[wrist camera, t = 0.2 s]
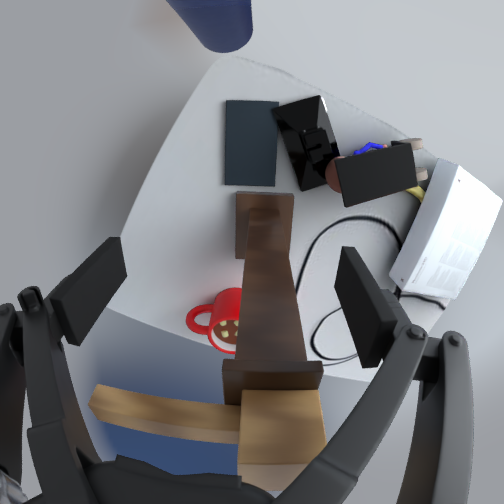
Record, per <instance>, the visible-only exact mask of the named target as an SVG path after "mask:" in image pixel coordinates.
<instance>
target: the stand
mask: <svg viewBox="0 0 504 504" xmlns="http://www.w3.org/2000/svg"><path fill="white" fill-rule="evenodd" d="M293 206H294V195H293V194H290V193H271V192H246V191H237V193H236V248H235V258H236V259H245V263H244V272H243V282H242V292H241V301H240V311H239V321H238V331H237V341H236V351H235V359H224V360H223V365H222V379H223V395H224V405H240V406H241V400H242V390H318V388H319V384H320V382H321V379H322V375H323V373H324V369H323V364H322V361H307V356H306V350H305V344H304V338H303V332H302V326H301V320H300V315H299V309H298V303H297V298H296V293H295V287H294V282H293V277H292V271H291V266H290V261H289V250H290V240H291V229H292V218H293Z"/></svg>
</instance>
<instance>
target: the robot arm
mask: <svg viewBox="0 0 504 504" xmlns="http://www.w3.org/2000/svg"><path fill="white" fill-rule="evenodd" d="M126 277H127V273H126V268H125V262H124V257H123V252H122V246H121V240H120V237H109V238H108V239H107V240H106V241H105V242H104V243H103V244H102V245H101V246H99V247H98V248H97V249H96V251H94V252H93V253H92V254H91V255H90V256H89V257H88V258H87V259H86V260H85V261H84V262H83V263H82V264H81V265H80V266H79V267H78V268H77V269H76V270H75V271H74V272H73V273H72V274H70V275H68V276H67V277H65V278H64V279H63V280H62V281H61V282H60V283H59V285H57V286H56V287H55V289H53V290H52V291H51V292H50V293H49V294H48V296H47V297H46V298H45V299H44V300H43V297H42V295H41V292H40V289H39V288H38V287H37V286H31V287H27V288H25V289H24V290H22V291H21V292H20V293H19V294H18V296H17V298H18V301H19V303H20V305H21V308H22V310H23V311H15V308H14V306H13V304H11V303H6V304H2V305H1V306H0V504H342V503H343V502H344V500H345V499H346V498H347V496H348V495H349V494H350V492H351V491H352V490H353V488H354V487H355V485H356V483H357V481H358V477H359V476H360V474H361V473H362V471H363V470H364V468H365V467H366V465H367V464H368V462H369V460H370V459H371V457H372V456H373V454H374V452H375V451H376V449H377V447H378V446H379V444H380V442H381V441H382V439H383V437H384V435H385V433H386V432H387V430H388V428H389V427H390V425H391V423H392V421H393V419H394V417H395V415H396V413H397V411H398V409H399V407H400V405H401V403H402V401H403V399H404V397H405V395H406V393H407V390H408V388H409V386H410V384H411V381H412V380H418V381H420V385H419V396H418V404H417V412H416V419H415V426H414V432H413V437H412V443H411V448H410V453H409V458H408V462H407V466H406V470H405V475H404V479H403V482H402V486H401V489H400V493H399V496H398V499H397V503H396V504H467V499H468V494H469V487H470V479H471V469H472V457H473V439H474V437H473V436H474V411H473V391H472V378H471V368H470V360H469V352H468V345H467V341H466V339H465V338H464V337H463V336H462V335H461V334H459V333H458V332H455V331H448V332H446V333H444V335H443V337H442V339H438V338H432V337H428V334H427V332H426V331H425V330H424V329H423V328H421V327H420V326H418V325H414V324H412V323H411V321H410V319H409V318H408V316H407V314H406V313H405V311H404V309H403V308H402V306H401V304H400V303H399V301H398V299H397V298H396V296H395V295H394V294H393V293H391V292H390V291H389V290H384V289H380V288H379V286H378V284H377V283H376V281H375V279H374V278H373V276H372V274H371V273H370V271H369V269H368V268H367V266H366V265H365V263H364V261H363V260H362V258H361V257H360V255H359V253H358V252H357V250H356V249H355V247H346V246H342V249H341V255H340V260H339V265H338V270H337V275H336V280H335V285H334V288H335V291H336V293H337V296H338V299H339V301H340V304H341V307H342V310H343V312H344V315H345V318H346V321H347V324H348V327H349V329H350V332H351V335H352V338H353V341H354V344H355V347H356V350H357V353H358V356H359V359H360V362H361V366H362V368H374V367H378V365H379V363H380V361H381V359H383V363H382V365H381V367H380V368H379V370H378V372H377V373H376V375H375V377H374V378H373V380H372V381H371V383H370V385H369V386H368V388H367V389H366V391H365V393H364V394H363V395H362V397H361V399H360V400H359V401H358V403H357V405H356V406H355V407H354V409H353V410H352V412H351V413H350V414H349V416H348V417H347V419H346V420H345V421H344V423H343V424H342V425H341V427H340V428H339V429H338V431H337V432H336V434H335V435H334V436H333V437H332V438H331V440H330V441H329V442H328V444H327V445H326V446H325V447H324V448H323V450H322V451H321V452H320V453H319V454H318V455H317V456H316V457H315V458H314V459H313V460H312V461H311V462H310V463H309V464H308V465H307V466H306V468H305V469H304V470H303V471H302V472H301V473H300V474H299V475H298V476H297V477H296V478H295V480H294V481H293V482H292V483H291V484H290V485H289V486H288V487H287V488H286V489H285V490H284V491H283V492H282V493H281V494H280V495H279V496H278V497H277V498H274V497H273V496H272V495H271V494H269V493H268V492H266V491H265V490H263V489H261V488H259V487H257V486H254V485H252V484H249V483H246V482H242V476H240V475H224V474H214V473H203V474H192V475H191V474H190V475H173V474H170V473H168V472H166V471H163V470H161V469H159V468H157V467H155V466H153V465H151V464H148V463H146V462H144V461H140V460H136V459H132V458H128V457H125V456H121V455H118V454H117V457H116V460H115V461H104V462H102V460H101V459H100V457H99V456H98V454H97V452H96V450H95V448H94V446H93V443H92V441H91V438H90V436H89V433H88V430H87V428H86V425H85V422H84V419H83V417H82V414H81V411H80V408H79V404H78V401H77V398H76V395H75V392H74V388H73V384H72V381H71V377H70V373H69V369H68V366H67V361H66V357H65V352H64V348H63V344H62V342H61V338H62V337H63V335H64V336H65V338H66V340H67V342H68V344H72V345H76V346H80V345H81V343H82V342H83V340H84V338H85V337H86V336H87V334H88V332H89V331H90V329H91V328H92V326H93V325H94V323H95V322H96V320H97V319H98V317H99V316H100V314H101V313H102V311H103V310H104V308H105V307H106V305H107V304H108V303H109V301H110V300H111V298H112V297H113V295H114V294H115V293H116V291H117V290H118V288H119V287H120V286H121V284H122V283H123V281H124V280H125V279H126ZM26 389H27V397H28V404H29V410H30V416H31V422H32V428H28V429H27V438H28V442H29V447H30V451H31V456H32V459H33V463H34V467H35V470H36V474H37V477H38V480H39V483H40V487H41V490H42V493H41V494H40V495H38V496H36V497H34V498H32V499H30V500H28V499H27V496H26V494H24V493H23V492H22V489H21V487H20V485H21V476H22V425H23V409H24V400H25V390H26Z"/></svg>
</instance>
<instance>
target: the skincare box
mask: <svg viewBox="0 0 504 504" xmlns="http://www.w3.org/2000/svg"><path fill="white" fill-rule="evenodd" d="M501 204H502V199H501V198H499V197H498V196H497V195H495V194H494V193H493V192H492V191H490V189H488V187H486V186H485V185H484V184H483V183H481V182H480V181H479V180H477V179H476V178H474V177H473V176H472V175H470V174H469V173H468V172H466V171H465V170H464V169H462V167H461V166H460V165H458V164H454V163H452V162H449V161H447V160H444V159H441V158H438V160H437V163H436V166H435V169H434V172H433V175H432V178H431V180H430V183H429V186H428V188H427V191H426V194H425V196H424V199H423V201H422V203H421V206H420V208H419V211H418V213H417V215H416V218H415V220H414V222H413V225H412V227H411V229H410V231H409V234H408V236H407V238H406V240H405V242H404V244H403V247H402V249H401V251H400V253H399V255H398V257H397V259H396V261H395V263H394V265H393V267H392V269H391V271H390V273H389V276H390V277H391V279H392V280H393V281H394V282H395V283H396V284H397V285H398V286H399V288H400V289H401V290H402V291H405V292H406V291H407V292H413V293H419V294H424V295H428V296H434V297H441V298H447V299H452V300H455V299H456V297H457V296H458V294H459V292H460V291H461V289H462V287H463V285H464V284H465V282H466V280H467V278H468V276H469V275H470V273H471V271H472V269H473V267H474V265H475V263H476V261H477V259H478V257H479V255H480V253H481V251H482V249H483V247H484V245H485V243H486V241H487V238H488V236H489V234H490V231H491V229H492V227H493V224H494V222H495V219H496V217H497V214H498V212H499V209H500V207H501Z"/></svg>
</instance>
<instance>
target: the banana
mask: <svg viewBox="0 0 504 504" xmlns="http://www.w3.org/2000/svg"><path fill="white" fill-rule="evenodd" d="M406 191H408V192H410V193H412V194H413V195H415V196H416V197H417V198H418V199H419V200H420V202H421V203H422V201H423V199H424V196H425V194H426V193H425V191H424V190H423V189H422V188H421V187H419V186H418V187H414V188H411V189H407V190H406Z"/></svg>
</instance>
